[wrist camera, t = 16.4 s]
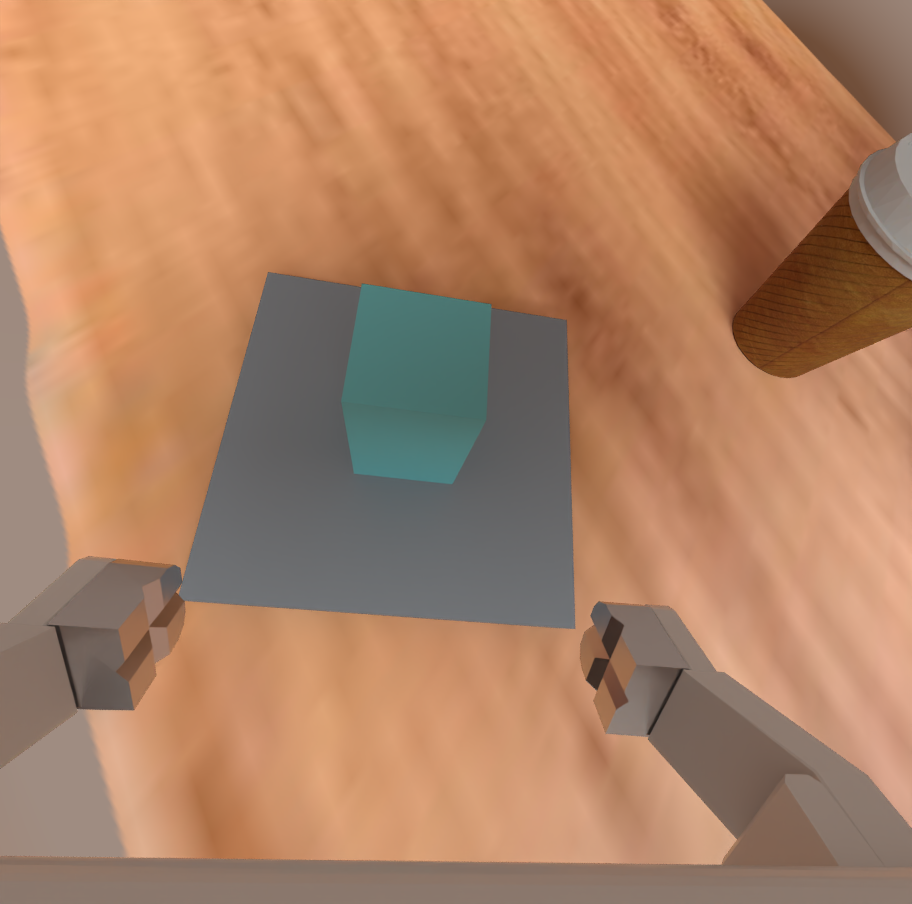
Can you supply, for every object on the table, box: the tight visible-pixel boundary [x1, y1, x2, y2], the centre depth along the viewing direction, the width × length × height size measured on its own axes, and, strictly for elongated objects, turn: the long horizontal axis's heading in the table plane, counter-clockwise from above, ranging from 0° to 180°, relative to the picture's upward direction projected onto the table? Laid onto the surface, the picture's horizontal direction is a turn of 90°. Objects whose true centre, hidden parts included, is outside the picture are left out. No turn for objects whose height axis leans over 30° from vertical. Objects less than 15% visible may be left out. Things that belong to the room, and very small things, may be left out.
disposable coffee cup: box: [733, 133, 912, 378], centre depth 27 cm, size 10×10×12 cm
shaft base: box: [179, 272, 575, 629], centre depth 22 cm, size 18×18×6 cm
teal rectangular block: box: [341, 284, 491, 484], centre depth 20 cm, size 5×5×8 cm
